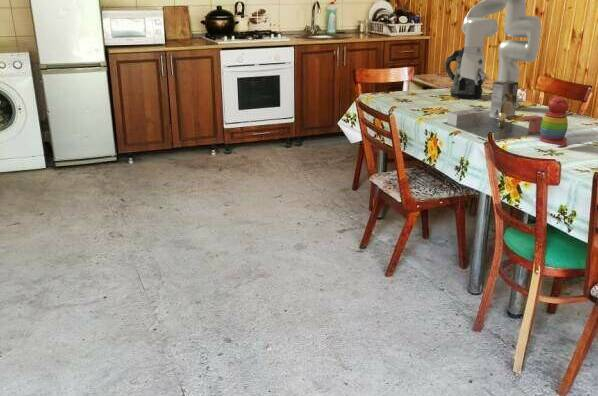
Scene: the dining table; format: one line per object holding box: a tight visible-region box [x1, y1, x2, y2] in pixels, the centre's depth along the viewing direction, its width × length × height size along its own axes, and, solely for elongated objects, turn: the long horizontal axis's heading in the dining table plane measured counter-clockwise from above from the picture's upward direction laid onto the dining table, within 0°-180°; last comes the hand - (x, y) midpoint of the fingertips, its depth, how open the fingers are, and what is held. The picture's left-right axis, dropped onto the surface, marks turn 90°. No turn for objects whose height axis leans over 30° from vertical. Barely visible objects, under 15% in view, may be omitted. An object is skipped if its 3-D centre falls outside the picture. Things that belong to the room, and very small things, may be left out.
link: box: [446, 107, 491, 128], centre depth 248 cm, size 17×6×5 cm, turn 114°
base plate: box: [442, 116, 541, 142], centre depth 242 cm, size 26×32×1 cm
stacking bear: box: [539, 95, 571, 149], centre depth 219 cm, size 11×10×18 cm
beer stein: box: [444, 47, 483, 100], centre depth 302 cm, size 16×19×25 cm
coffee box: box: [489, 80, 519, 119], centre depth 259 cm, size 9×6×16 cm
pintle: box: [498, 113, 507, 127], centre depth 242 cm, size 3×3×6 cm
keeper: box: [515, 114, 543, 133], centre depth 232 cm, size 10×4×6 cm, turn 114°
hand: (469, 92), depth 244 cm, fingers open, 9 cm apart
